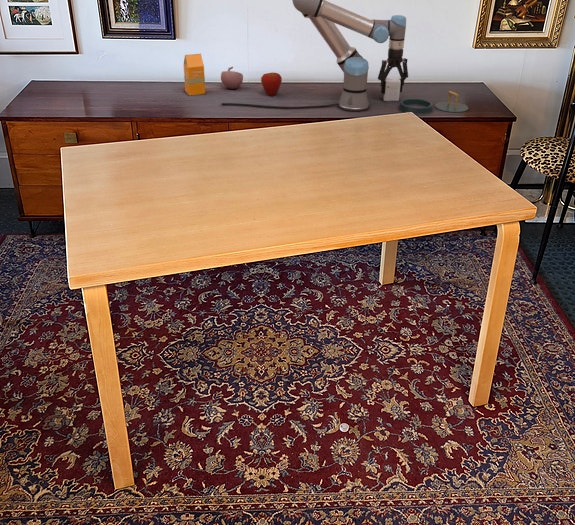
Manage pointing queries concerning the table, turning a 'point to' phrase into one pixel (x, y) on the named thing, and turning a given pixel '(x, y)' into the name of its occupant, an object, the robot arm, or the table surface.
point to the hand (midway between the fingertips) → (391, 92)
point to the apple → (271, 83)
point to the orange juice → (194, 74)
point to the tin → (413, 109)
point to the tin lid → (451, 105)
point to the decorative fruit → (231, 79)
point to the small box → (392, 90)
